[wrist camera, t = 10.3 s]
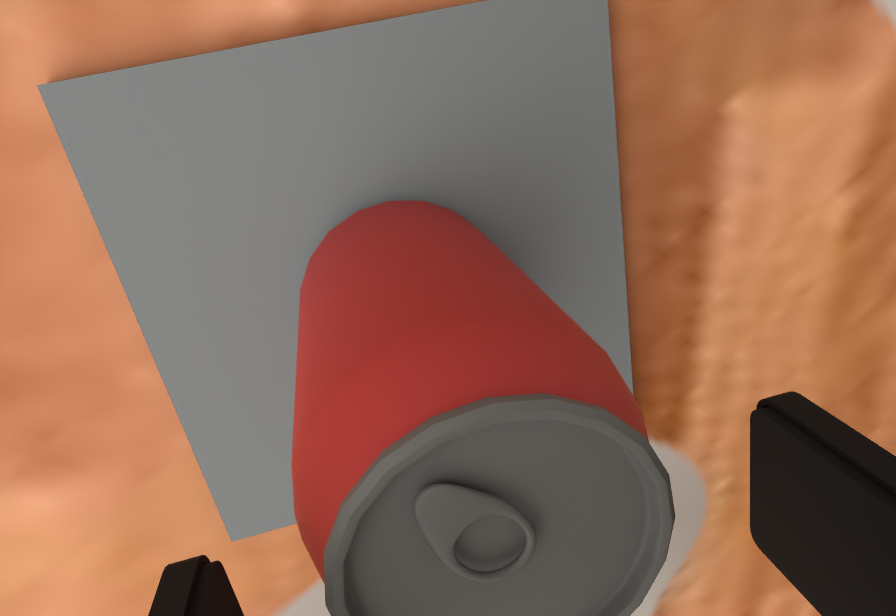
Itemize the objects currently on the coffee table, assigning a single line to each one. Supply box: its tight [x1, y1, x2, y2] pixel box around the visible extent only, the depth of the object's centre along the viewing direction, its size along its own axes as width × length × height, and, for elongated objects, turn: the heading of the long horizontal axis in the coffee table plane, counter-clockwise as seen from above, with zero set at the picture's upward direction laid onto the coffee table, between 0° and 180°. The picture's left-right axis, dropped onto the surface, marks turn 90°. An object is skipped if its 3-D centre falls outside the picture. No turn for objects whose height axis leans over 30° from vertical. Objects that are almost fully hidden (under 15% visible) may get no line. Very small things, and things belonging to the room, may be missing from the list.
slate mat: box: [37, 0, 633, 541], centre depth 20 cm, size 16×16×1 cm
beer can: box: [291, 201, 675, 616], centre depth 15 cm, size 7×7×12 cm
